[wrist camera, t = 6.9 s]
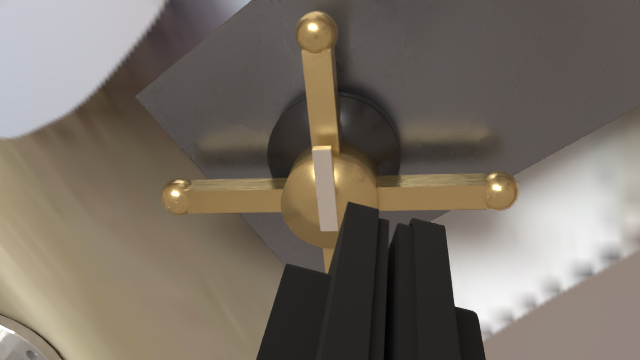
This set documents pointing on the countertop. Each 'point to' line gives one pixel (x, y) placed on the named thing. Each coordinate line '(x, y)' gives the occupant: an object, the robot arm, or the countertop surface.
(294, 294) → the robot arm
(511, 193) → the capstan
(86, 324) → the countertop surface
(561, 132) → the stand
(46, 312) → the countertop surface
